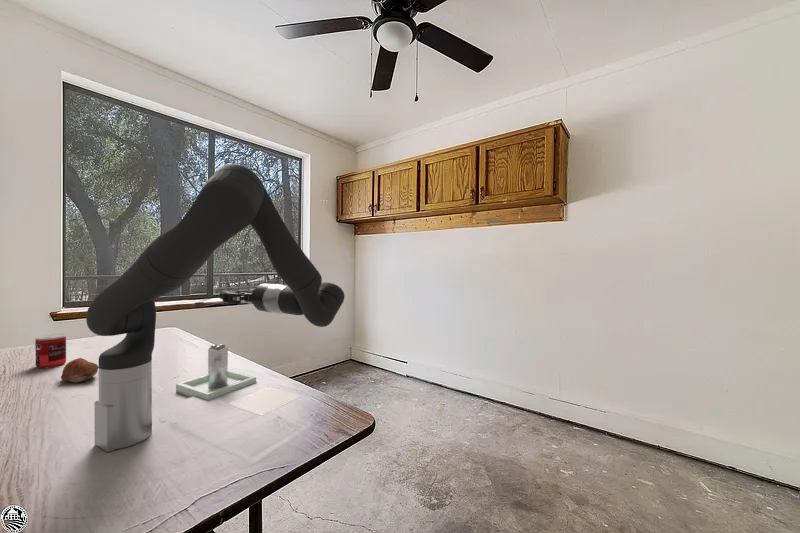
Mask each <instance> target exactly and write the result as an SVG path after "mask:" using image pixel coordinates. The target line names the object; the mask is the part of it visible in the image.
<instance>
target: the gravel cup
mask: <svg viewBox="0 0 800 533" xmlns="http://www.w3.org/2000/svg"><path fill="white" fill-rule="evenodd" d="M207 352H208V353H207V368H208V369H207V370H208V371H207V374H208V388H209V389H213V390H215V389H216V390H217V389H220V388H223V387H226V386H228V385H229V384H228V370H229V369H228V364H229V361H228V360H229V359H228V358H229V356H228V355H229V353H228V352H229V347H228V346H227V345H225V344H224V343H220V344H218V345H216V344H212V345H210V347H208V349H207Z"/></svg>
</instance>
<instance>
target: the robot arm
mask: <svg viewBox="0 0 800 533" xmlns="http://www.w3.org/2000/svg"><path fill="white" fill-rule="evenodd" d="M275 206H276V205H275V204H274V202H273V200H272V198H271V197H270V195H269V193H268V190H267V188H266V187H265V185H264V183H263V182H262V180H261V179H260V177H259V176H258V175H257V174H256V173H255V172H254V171H252V170H251V169H250V168H248V167H246V166H244V165H243V164H242V165H241V164H238V163H230V164H229V163H228V164H225V165H223V166H221V167H219V168H218V169H217V170H216V171H215V172H214V173H213V174H212V175H211V177H210V178H209V179H208V180H207V182H205V183H204V185H203V186H202V188H201V189H200V191H199V193H198V194H197V196H196V198H195V199H194V201H193V202H192V204H191V205H190V208H189V209H188V210H187V211H186V213H185V214H184V216H182V217H183V218H182V219H181V220H180V221H179V222H178V223H177V224H176V225H175V226H173V227H172V228H170V229H168V230H166V231H164V232H162V234H160V235H158V237H156V238H155V239H154V240H153V241H152V242H151V243H150V244H149V245H148V246H147V247H146V248H145V249H144V250H143V251H142V253H140V255H139V256H138V258H137V259H136V260H135V261H134V263H132V264H131V266H129V267H128V268H127V269H126V270H125V271H124V273H122V275H120V276H119V277H118V278H117V279H116V280H115V281H114V282H112V283H111V284H110V285H109V286H108V287H106V288H105V289H103V291H101V292H100V293H99V294H98V295H96V296H95V297H94V298H93V300H92V302H90V305H89V306H88V309H87V311H86V317H85V318H86V319H85V320H86V325H87V328H88V329H89V331H91V332H92V333H93V334H95V335H97V336H99V337H100V336H101V337H114V336H119V335H125V337H123V339H121V341H119V342H118V343H117V344H115V345H114V346H112V347H110V348H108V349H107V350H104V351H103V352H101V353H100V355H99V357H98V367H99V368H98V400H96V401H95V402H94V404H93V405H94V445H95V446H96V447H98V448H99V449H101V450H103V451H104V452H106V453H108V452H112V451H115V450H118V449H124V448H128V447H130V446H134V445H136V444H140V442H143V441H145V440H146V439H147V438H149V437H150V436H151V435H152V432H153V412H152V411H153V406H152V405H153V402H152V401H153V400H152V399H153V396H152V395H153V384H152V383H153V382H152V381H153V378H152V377H153V373H152V372H153V371H152V370H153V368H152V367H153V364H152V362H153V357H152V356H153V351H154V348H155V339H156V338H155V337H156V326H157V325H156V321H157V306H156V302H155V300H156V299H158V298H160V297H162V296H165V295H167V294H169V293H172V292H174V291H175V290H177V289H179V288H180V287H181V286H183V285H184V284H185V283H186V282H188V281H189V280H190V279H191V277H193V276H194V275H195V274H196V273H197V272H198V271H199V269H200V268H202V267H203V265H204V264H206V262H207V261H208V259H210V257H211V255H212V254H213V253H214V252H215V251H216V250H217V249H218V248H219V247H221V246H222V245H223V244H225V243H226V242H227V241H228V240H230V239H232V238H233V237H235V235H237V234H238V233H240V232H241V231H242V230H244V229H246V228H247V227H248V226H249V225H250V226H251V227H252V228H253V230H254V231H255V233H256V234H257V236H258V238H259V240H260V242H261V243H262V246H263V247H264V250H265V252H266V255H267V257H268V259H269V261H270V264H271V265H272V267H273V268H274V271H275V272H276V274H277V275H278V277H279V278H280V279H281V280H282V281H283V282H284V283H285V284H283V283H282V284H280V283H270V282H269V283H268V282H264V283H261V284H258V286H256V288H247V289H238V290H236V291H231V290H229V291H228V290H220V291H219V299H220V300H222V303H227V304H228V303H229V304H237V305H240V304H248V305H253V306H254V307H255V309H257V310H258V311H261V312H267V313H274V314H280V315H281V314H283V315H284V314H285V315H294V316H304V317H305V319H306V320H307V321H308V322H309V323H310V324H312V326H315V327H319V328H323V327H327V326H329V325H331V323H332V322H333V321H334V319H335V317H336V316H337V313H338V311H339V310H340V309H341V307H342V304H343V303H344V301H345V297H346V296H345V292H344V291H343V289H342V287H340V286H339V285H337V284H336V283H333V282H332V283H331V282H325V281H324V282H323V280H322V279H323V277H322V275H321V273H320V272H319V270H318V269H317V268H316V266H315V265H314V264H313V263H312V261H311V260H310V259H309V258H308V256H307V255H306V253H304V251H303V250H302V248H301V247H300V246H299V244H298V242H297V241H296V239H295V238H294V237H293V235H292V233H291V231H290V230H289V229H288V227H287V225H286V224H285V222H284V220H283V218H282V216H281V215H280V213H279V212H278V210H277V208H276V207H275ZM242 293H243V294H242Z"/></svg>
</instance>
